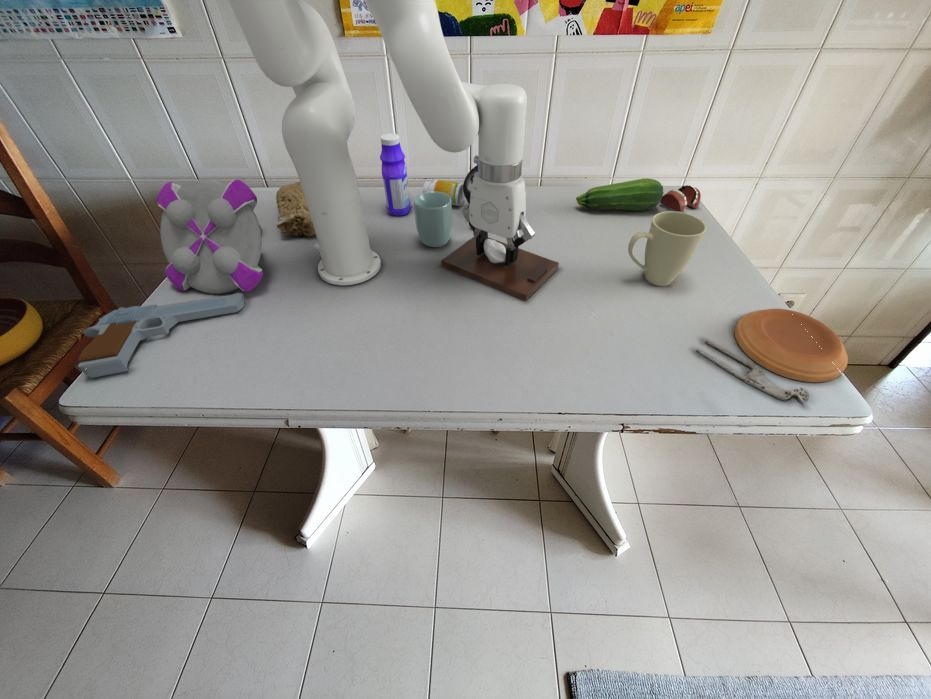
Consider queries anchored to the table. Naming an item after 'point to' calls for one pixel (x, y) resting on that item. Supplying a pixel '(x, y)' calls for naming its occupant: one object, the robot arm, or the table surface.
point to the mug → (668, 245)
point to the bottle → (394, 175)
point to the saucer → (791, 345)
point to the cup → (433, 218)
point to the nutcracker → (759, 378)
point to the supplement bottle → (447, 190)
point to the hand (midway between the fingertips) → (496, 257)
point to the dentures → (682, 198)
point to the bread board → (502, 270)
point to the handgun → (142, 330)
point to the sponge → (293, 211)
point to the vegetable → (623, 196)
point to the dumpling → (494, 251)
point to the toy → (210, 236)
